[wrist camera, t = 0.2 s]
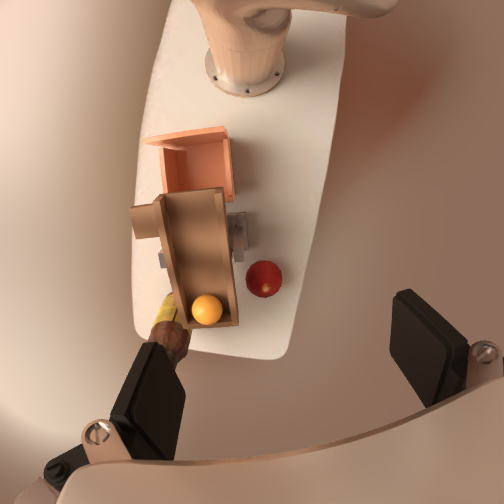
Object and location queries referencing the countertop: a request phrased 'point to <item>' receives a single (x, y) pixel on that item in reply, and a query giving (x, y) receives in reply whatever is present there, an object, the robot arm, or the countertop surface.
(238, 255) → the stand
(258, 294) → the onion
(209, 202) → the brown wooden tray
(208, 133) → the cup
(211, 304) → the ball
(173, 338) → the sauce bottle
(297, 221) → the countertop surface
